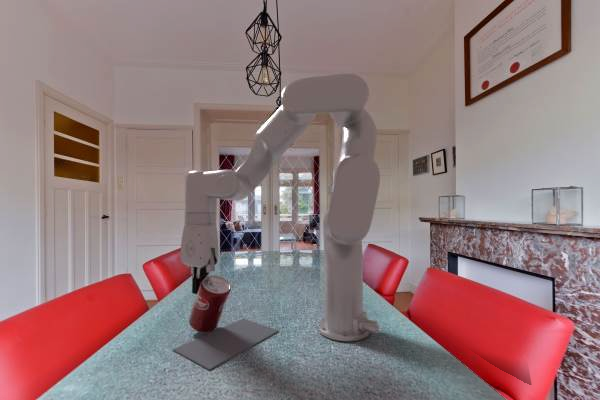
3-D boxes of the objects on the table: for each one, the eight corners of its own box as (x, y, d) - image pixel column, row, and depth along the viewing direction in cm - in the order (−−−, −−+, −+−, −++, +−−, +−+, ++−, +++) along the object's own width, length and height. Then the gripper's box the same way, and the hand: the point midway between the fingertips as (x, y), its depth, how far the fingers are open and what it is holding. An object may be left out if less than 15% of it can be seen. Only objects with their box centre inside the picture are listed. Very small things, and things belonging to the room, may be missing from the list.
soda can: (188, 335, 65) (202, 293, 62) (187, 311, 71) (199, 273, 68) (219, 333, 68) (234, 294, 65) (216, 311, 74) (229, 275, 71)
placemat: (278, 331, 68) (278, 330, 68) (209, 370, 52) (209, 369, 52) (243, 319, 76) (243, 318, 76) (172, 350, 59) (172, 349, 59)
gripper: (171, 219, 72) (169, 290, 72) (206, 221, 63) (204, 303, 63) (196, 218, 78) (195, 284, 78) (232, 220, 69) (230, 294, 69)
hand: (199, 292), depth 70 cm, fingers closed
